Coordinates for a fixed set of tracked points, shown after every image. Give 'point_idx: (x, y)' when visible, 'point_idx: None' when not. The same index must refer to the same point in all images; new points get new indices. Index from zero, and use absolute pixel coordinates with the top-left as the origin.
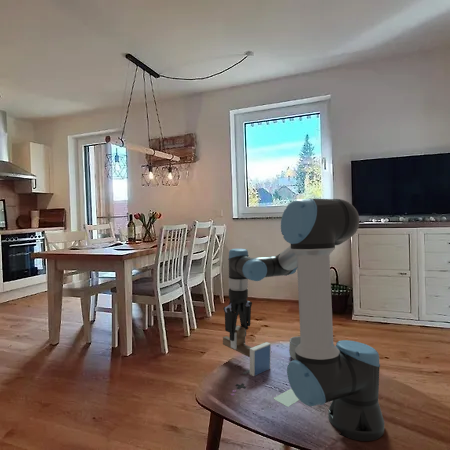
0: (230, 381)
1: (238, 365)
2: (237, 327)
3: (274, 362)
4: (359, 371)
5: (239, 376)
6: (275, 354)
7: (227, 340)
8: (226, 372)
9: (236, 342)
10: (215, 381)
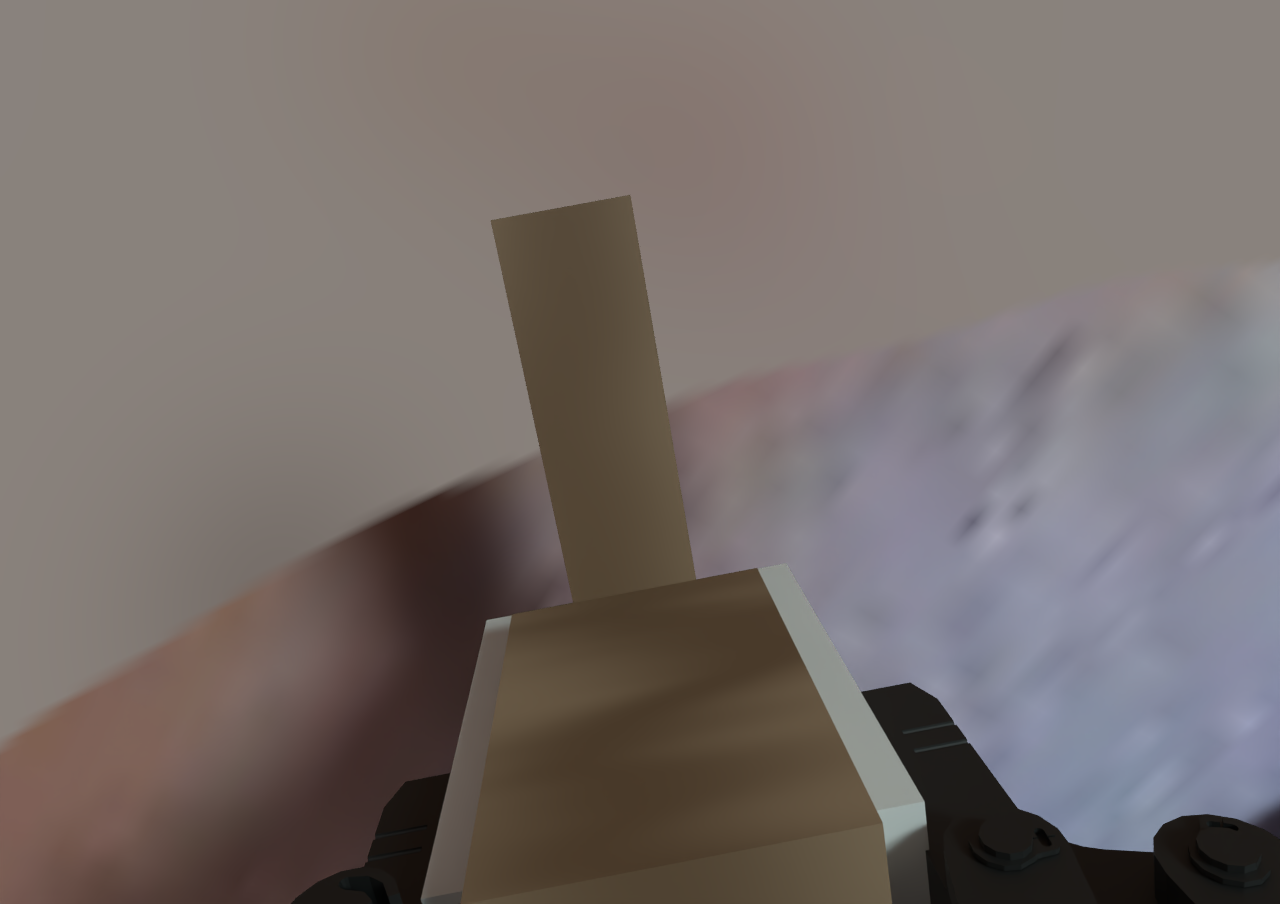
0: (271, 900)
1: None
2: None
3: (1060, 764)
4: None
5: None
6: (1258, 585)
7: (533, 411)
8: (327, 699)
9: None
10: (87, 824)
